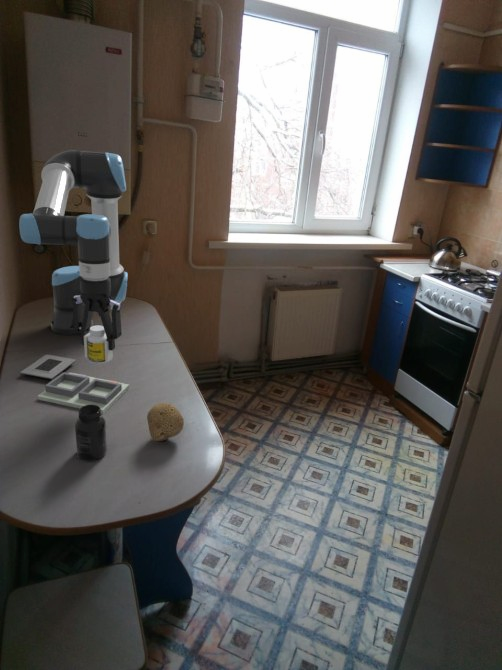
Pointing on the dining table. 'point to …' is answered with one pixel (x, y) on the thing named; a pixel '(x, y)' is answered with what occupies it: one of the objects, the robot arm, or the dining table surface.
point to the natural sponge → (164, 421)
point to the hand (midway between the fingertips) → (98, 357)
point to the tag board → (83, 391)
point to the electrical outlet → (48, 366)
